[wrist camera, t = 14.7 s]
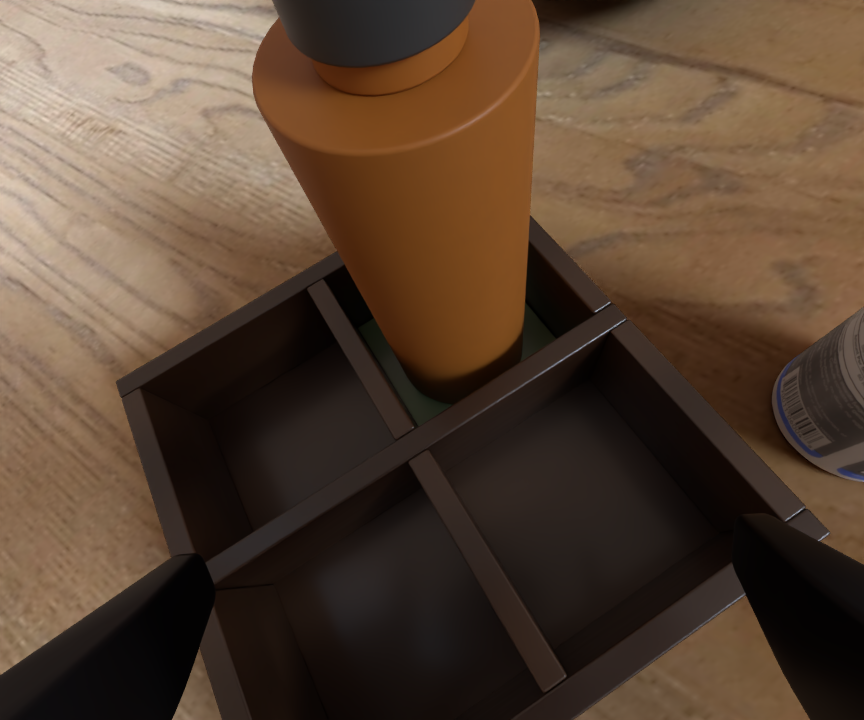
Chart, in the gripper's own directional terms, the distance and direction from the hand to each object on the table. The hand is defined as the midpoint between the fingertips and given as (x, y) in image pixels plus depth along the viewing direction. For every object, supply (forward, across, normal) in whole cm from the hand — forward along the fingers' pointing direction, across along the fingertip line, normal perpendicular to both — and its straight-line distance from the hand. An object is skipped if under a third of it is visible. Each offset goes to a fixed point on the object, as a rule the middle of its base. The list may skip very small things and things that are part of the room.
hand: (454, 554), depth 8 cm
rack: (+9, +2, +4) cm, 10 cm away
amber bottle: (+11, 0, 0) cm, 11 cm away
